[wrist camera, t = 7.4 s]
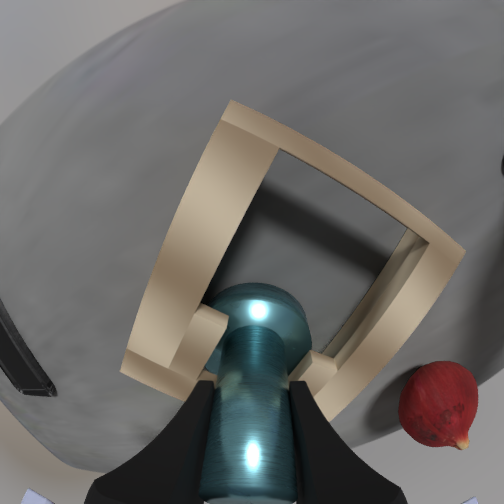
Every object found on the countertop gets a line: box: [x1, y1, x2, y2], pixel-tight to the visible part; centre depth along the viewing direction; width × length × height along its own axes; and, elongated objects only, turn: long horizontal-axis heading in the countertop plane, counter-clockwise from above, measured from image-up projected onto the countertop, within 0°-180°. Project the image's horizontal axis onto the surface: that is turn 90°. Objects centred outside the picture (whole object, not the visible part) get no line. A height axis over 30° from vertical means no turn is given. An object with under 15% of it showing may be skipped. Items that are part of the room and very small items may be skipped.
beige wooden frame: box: [120, 100, 466, 422], centre depth 13 cm, size 14×12×4 cm
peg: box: [198, 283, 312, 504], centre depth 11 cm, size 6×6×10 cm
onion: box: [398, 361, 478, 450], centre depth 13 cm, size 6×6×8 cm
